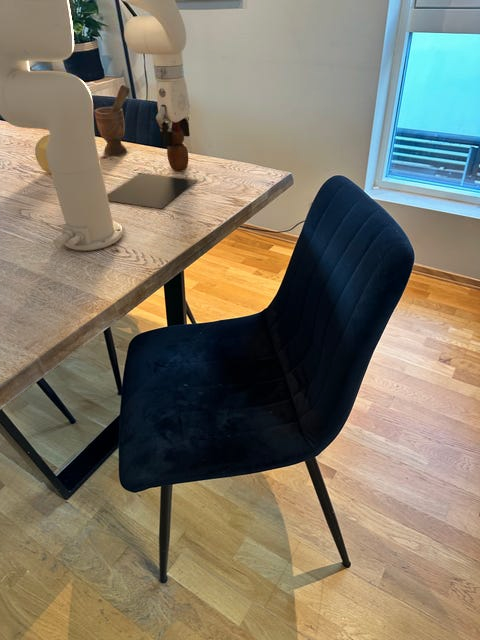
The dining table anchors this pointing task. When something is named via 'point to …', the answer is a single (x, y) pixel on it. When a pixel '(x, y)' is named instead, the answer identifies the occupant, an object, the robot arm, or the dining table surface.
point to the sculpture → (42, 153)
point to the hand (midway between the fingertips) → (176, 140)
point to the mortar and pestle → (113, 124)
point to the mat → (150, 191)
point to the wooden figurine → (177, 150)
